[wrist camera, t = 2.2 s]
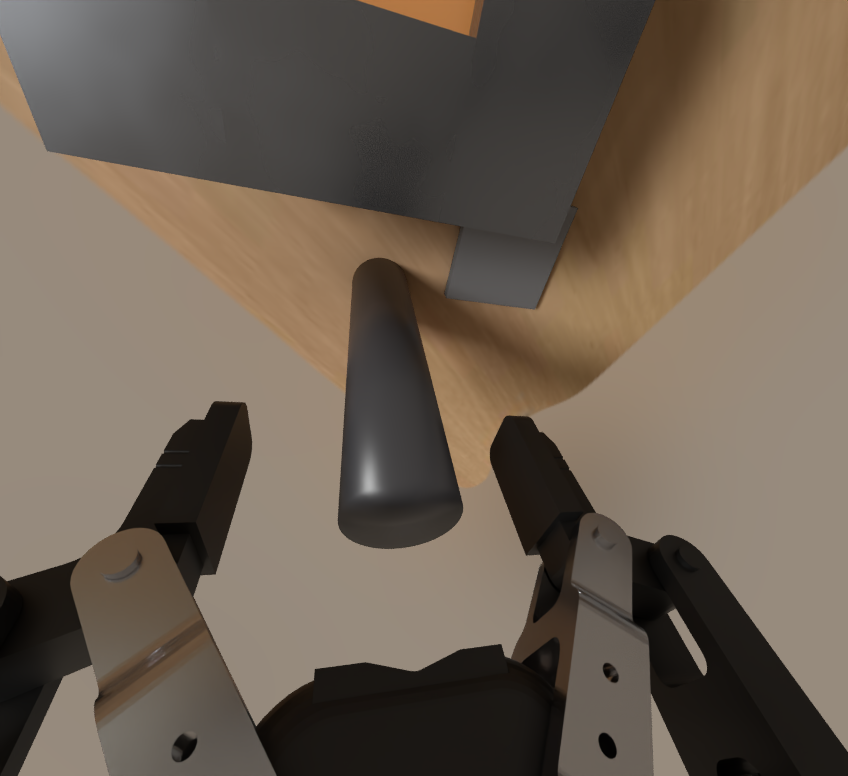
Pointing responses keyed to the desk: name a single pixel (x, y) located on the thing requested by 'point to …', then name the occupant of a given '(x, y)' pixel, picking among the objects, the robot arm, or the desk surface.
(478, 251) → the pad
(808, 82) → the desk surface
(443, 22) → the button
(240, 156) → the grey boxy frame
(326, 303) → the desk surface
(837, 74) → the desk surface
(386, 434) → the handle
